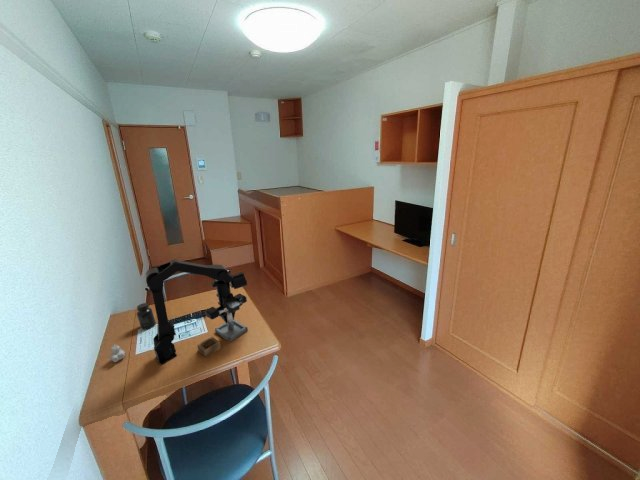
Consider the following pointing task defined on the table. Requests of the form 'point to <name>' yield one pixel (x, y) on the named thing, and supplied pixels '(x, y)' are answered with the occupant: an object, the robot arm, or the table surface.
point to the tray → (233, 333)
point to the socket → (211, 349)
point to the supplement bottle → (145, 316)
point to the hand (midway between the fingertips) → (229, 321)
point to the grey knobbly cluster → (116, 353)
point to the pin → (229, 320)
